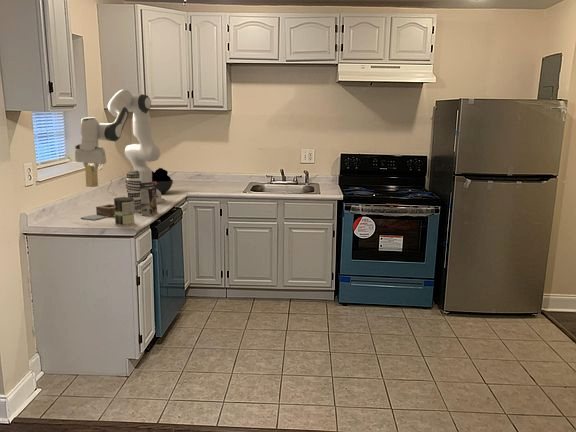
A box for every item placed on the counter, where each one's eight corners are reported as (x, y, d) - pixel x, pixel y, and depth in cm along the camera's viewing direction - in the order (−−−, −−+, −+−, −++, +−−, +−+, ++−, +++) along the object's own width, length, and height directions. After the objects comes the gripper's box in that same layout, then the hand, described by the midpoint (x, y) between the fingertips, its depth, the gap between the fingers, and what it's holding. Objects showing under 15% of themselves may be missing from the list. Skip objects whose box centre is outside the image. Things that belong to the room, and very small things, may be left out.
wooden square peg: (92, 185, 291) (91, 164, 289) (97, 186, 289) (96, 165, 287) (86, 186, 287) (85, 165, 285) (92, 187, 286) (90, 165, 283)
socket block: (109, 212, 310) (109, 203, 309) (123, 213, 305) (122, 205, 304) (96, 215, 300) (96, 206, 299) (110, 216, 296) (109, 208, 295)
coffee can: (113, 226, 273) (111, 200, 270) (117, 222, 283) (116, 197, 280) (132, 226, 274) (131, 200, 271) (136, 221, 284) (135, 197, 281)
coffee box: (151, 216, 300) (150, 189, 296) (141, 215, 301) (139, 188, 297) (157, 213, 309) (156, 186, 305) (147, 212, 310) (146, 186, 306)
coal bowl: (175, 191, 390) (174, 167, 386) (170, 195, 370) (170, 170, 366) (148, 191, 388) (147, 166, 385) (142, 195, 369) (141, 169, 365)
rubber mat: (94, 215, 299) (94, 214, 299) (107, 217, 295) (107, 216, 294) (80, 218, 290) (80, 217, 290) (93, 220, 286) (93, 219, 286)
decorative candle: (124, 211, 311) (122, 171, 306) (131, 208, 320) (129, 169, 315) (138, 212, 310) (136, 171, 305) (144, 209, 319) (143, 169, 314)
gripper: (108, 147, 283) (109, 171, 285) (81, 145, 291) (82, 169, 294) (99, 147, 277) (101, 172, 280) (72, 145, 286) (73, 170, 288)
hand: (91, 171), depth 287 cm, fingers closed on wooden square peg, 4 cm apart
